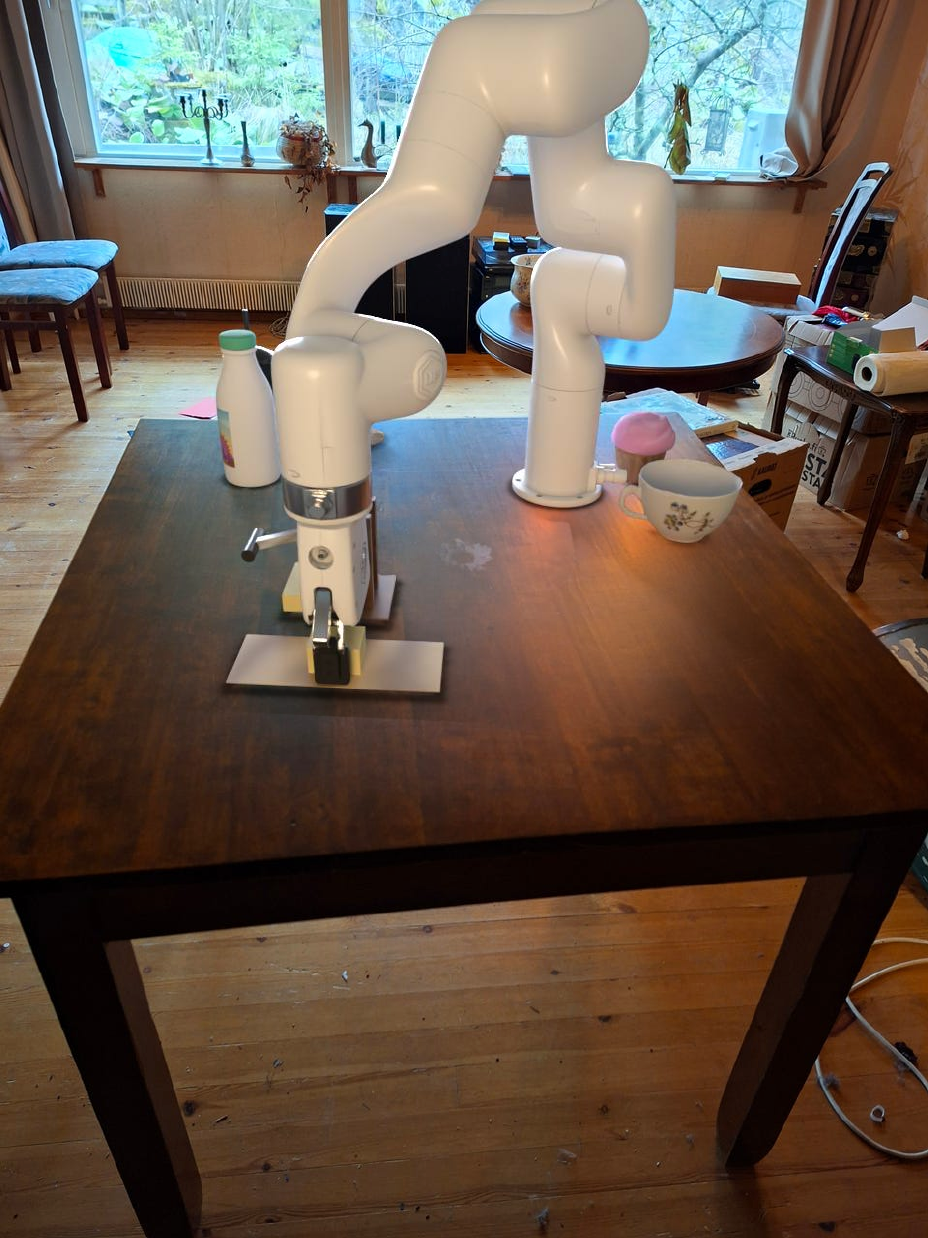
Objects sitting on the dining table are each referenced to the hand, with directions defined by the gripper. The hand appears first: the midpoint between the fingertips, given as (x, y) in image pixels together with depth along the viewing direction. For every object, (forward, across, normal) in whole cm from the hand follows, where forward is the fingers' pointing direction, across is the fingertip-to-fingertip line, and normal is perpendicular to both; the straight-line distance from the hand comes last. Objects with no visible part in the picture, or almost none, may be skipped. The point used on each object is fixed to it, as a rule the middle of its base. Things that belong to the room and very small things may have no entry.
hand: (338, 658), depth 80 cm
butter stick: (+1, +12, +6) cm, 13 cm away
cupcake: (+2, +49, -36) cm, 61 cm away
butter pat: (0, 0, 0) cm, 0 cm away
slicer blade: (-6, +12, +5) cm, 14 cm away
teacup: (+2, +32, -38) cm, 50 cm away
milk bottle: (+2, +44, +19) cm, 48 cm away
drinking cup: (+2, +56, +21) cm, 60 cm away
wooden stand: (+1, +12, 0) cm, 12 cm away
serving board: (+1, 0, 0) cm, 1 cm away
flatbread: (+1, +59, +6) cm, 59 cm away
